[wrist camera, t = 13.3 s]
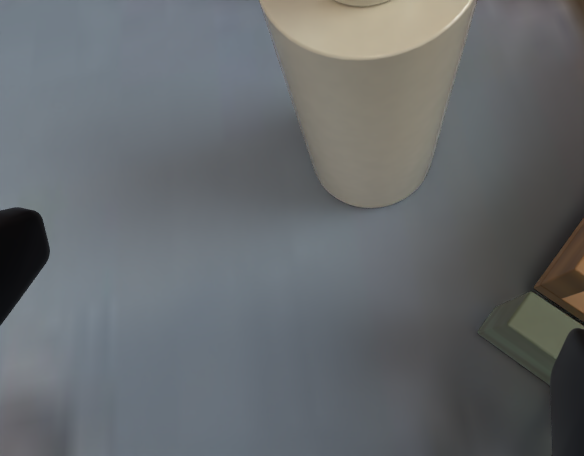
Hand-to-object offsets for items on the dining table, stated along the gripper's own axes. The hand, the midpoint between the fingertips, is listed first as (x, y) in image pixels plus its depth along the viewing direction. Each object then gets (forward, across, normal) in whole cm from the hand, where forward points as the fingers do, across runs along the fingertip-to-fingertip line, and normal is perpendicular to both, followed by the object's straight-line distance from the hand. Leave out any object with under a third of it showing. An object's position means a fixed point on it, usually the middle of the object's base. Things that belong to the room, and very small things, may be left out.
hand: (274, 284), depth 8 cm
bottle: (+13, 0, +3) cm, 14 cm away
